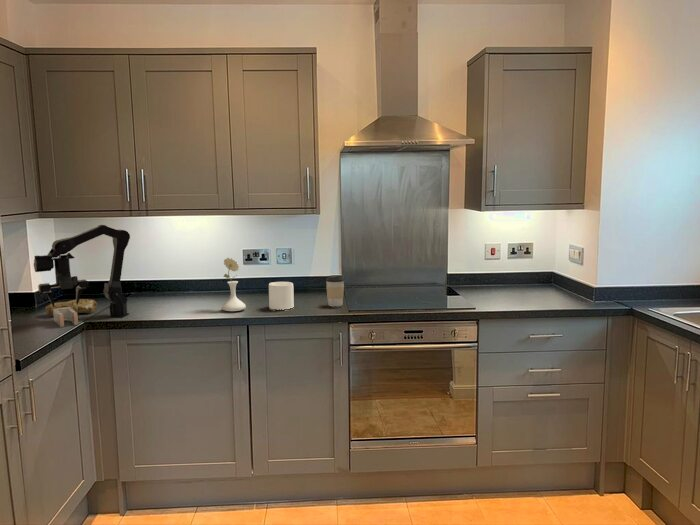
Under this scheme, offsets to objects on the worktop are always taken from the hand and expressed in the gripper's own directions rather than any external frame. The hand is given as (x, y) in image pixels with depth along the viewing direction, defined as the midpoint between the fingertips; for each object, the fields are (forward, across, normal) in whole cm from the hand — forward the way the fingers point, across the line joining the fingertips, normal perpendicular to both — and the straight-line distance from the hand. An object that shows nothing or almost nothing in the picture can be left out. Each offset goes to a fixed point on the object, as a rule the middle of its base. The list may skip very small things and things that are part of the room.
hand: (65, 305), depth 237 cm
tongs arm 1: (+8, -3, 0) cm, 8 cm away
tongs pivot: (+8, 0, +8) cm, 11 cm away
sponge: (+8, +5, +19) cm, 21 cm away
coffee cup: (+9, +112, -44) cm, 120 cm away
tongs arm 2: (+8, +3, 0) cm, 8 cm away
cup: (+9, +88, -32) cm, 94 cm away
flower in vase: (+8, +68, -21) cm, 71 cm away
